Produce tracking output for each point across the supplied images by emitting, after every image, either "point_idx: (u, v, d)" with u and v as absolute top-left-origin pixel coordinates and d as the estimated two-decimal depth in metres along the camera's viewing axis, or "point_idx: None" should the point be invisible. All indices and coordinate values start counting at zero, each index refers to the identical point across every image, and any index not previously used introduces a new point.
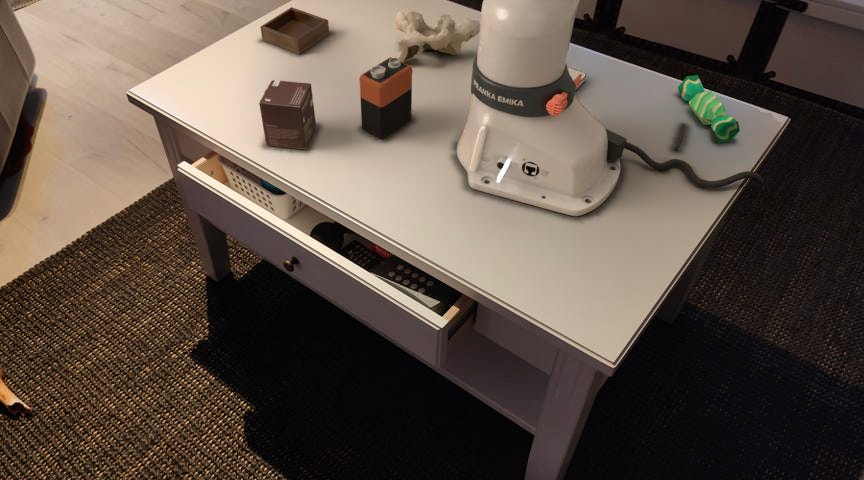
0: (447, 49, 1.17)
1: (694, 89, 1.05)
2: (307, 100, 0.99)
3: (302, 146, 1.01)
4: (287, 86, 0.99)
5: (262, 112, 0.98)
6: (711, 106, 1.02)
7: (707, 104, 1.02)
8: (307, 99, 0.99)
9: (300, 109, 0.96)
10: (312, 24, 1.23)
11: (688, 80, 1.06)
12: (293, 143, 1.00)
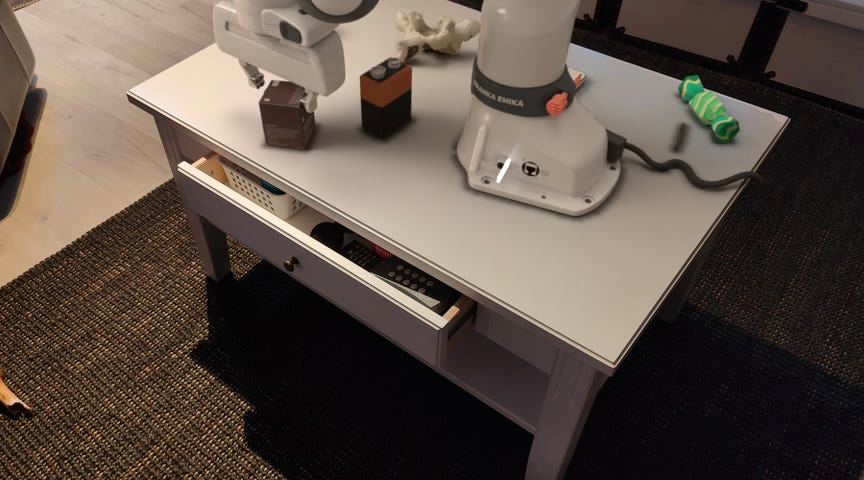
0: (447, 49, 1.17)
1: (694, 89, 1.05)
2: None
3: (301, 146, 1.01)
4: (287, 86, 0.99)
5: (261, 111, 0.98)
6: (711, 106, 1.02)
7: (707, 104, 1.02)
8: None
9: (300, 109, 0.96)
10: None
11: (688, 80, 1.06)
12: (293, 142, 1.00)
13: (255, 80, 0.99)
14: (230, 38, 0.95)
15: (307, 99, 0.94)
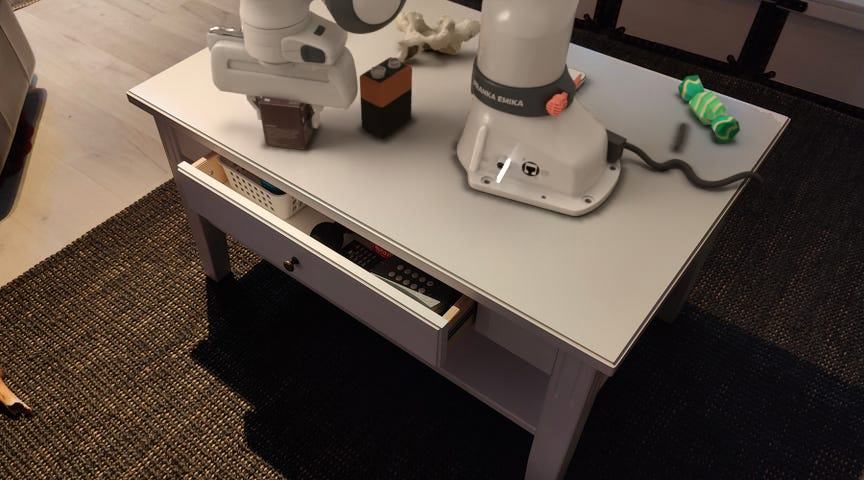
0: (447, 49, 1.17)
1: (694, 89, 1.05)
2: None
3: (301, 146, 1.01)
4: None
5: (261, 112, 0.98)
6: (711, 106, 1.02)
7: (707, 104, 1.02)
8: None
9: (300, 109, 0.96)
10: None
11: (688, 80, 1.06)
12: (293, 143, 1.00)
13: None
14: (233, 75, 0.96)
15: (314, 115, 0.99)
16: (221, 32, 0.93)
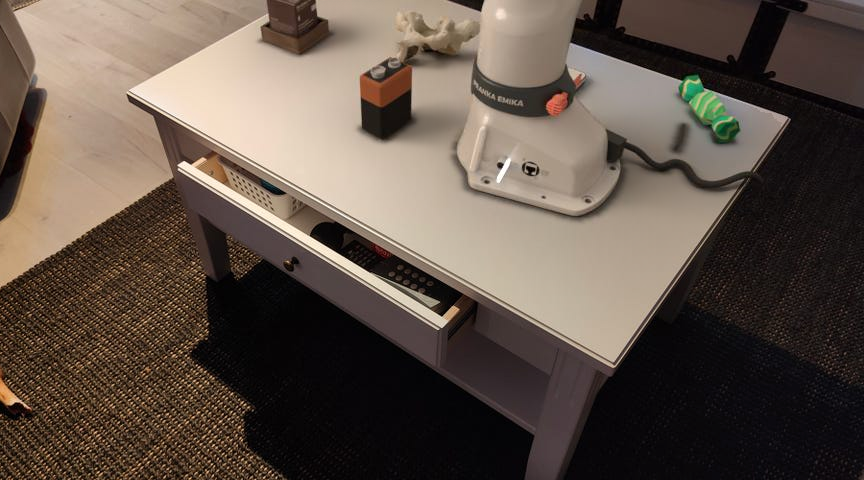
0: (447, 50, 1.17)
1: (694, 89, 1.05)
2: (306, 3, 1.16)
3: None
4: None
5: (267, 5, 1.17)
6: (711, 106, 1.02)
7: (707, 104, 1.02)
8: (306, 2, 1.16)
9: (295, 7, 1.14)
10: None
11: (688, 80, 1.06)
12: None
13: None
14: None
15: None
16: None
